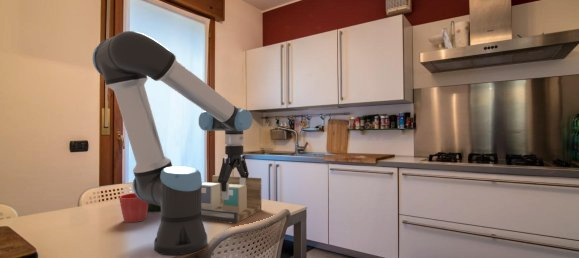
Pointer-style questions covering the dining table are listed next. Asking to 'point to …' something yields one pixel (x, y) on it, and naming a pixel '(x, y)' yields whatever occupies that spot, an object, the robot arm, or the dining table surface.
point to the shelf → (235, 217)
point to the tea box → (236, 198)
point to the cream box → (210, 195)
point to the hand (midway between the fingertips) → (234, 196)
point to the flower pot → (133, 208)
